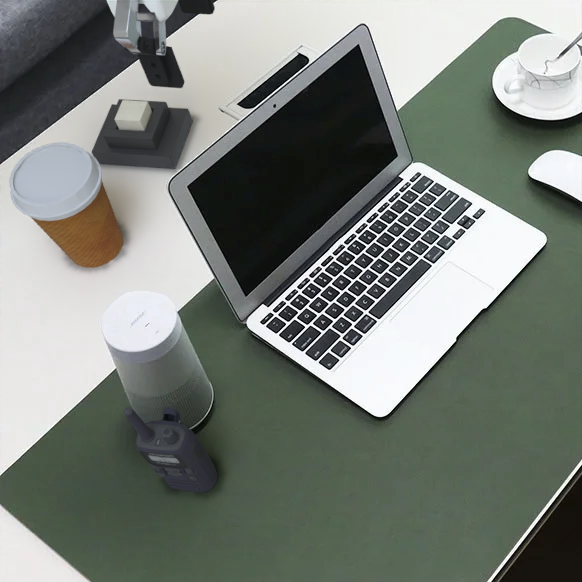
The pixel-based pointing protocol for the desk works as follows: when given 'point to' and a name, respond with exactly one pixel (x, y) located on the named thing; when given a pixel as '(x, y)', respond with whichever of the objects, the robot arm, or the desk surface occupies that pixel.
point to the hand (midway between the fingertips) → (183, 47)
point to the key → (133, 115)
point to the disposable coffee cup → (68, 202)
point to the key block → (144, 138)
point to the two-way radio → (174, 451)
